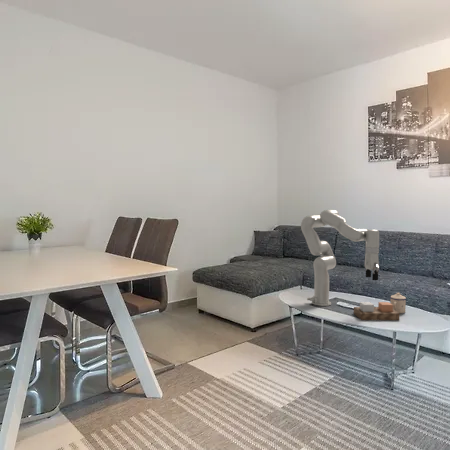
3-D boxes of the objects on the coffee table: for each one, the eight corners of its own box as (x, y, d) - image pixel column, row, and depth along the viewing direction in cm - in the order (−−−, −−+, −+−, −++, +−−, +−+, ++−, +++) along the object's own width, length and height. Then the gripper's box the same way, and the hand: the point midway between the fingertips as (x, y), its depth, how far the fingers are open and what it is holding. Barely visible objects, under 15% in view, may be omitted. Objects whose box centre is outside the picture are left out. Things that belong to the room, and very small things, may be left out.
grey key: (363, 313, 225) (363, 304, 225) (359, 310, 231) (360, 302, 231) (373, 313, 225) (373, 304, 225) (369, 310, 231) (370, 302, 231)
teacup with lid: (392, 308, 246) (392, 290, 245) (407, 311, 240) (408, 292, 239) (386, 312, 237) (386, 294, 236) (402, 315, 231) (402, 296, 230)
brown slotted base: (361, 320, 222) (361, 313, 222) (353, 313, 235) (353, 307, 235) (399, 320, 222) (399, 313, 222) (389, 313, 235) (389, 307, 235)
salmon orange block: (382, 313, 225) (382, 304, 225) (378, 310, 231) (378, 302, 231) (392, 313, 225) (392, 304, 225) (388, 310, 231) (388, 302, 231)
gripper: (360, 248, 239) (359, 276, 240) (372, 252, 221) (371, 281, 222) (372, 248, 239) (371, 275, 240) (384, 252, 222) (384, 281, 223)
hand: (371, 278), depth 231 cm, fingers open, 9 cm apart
